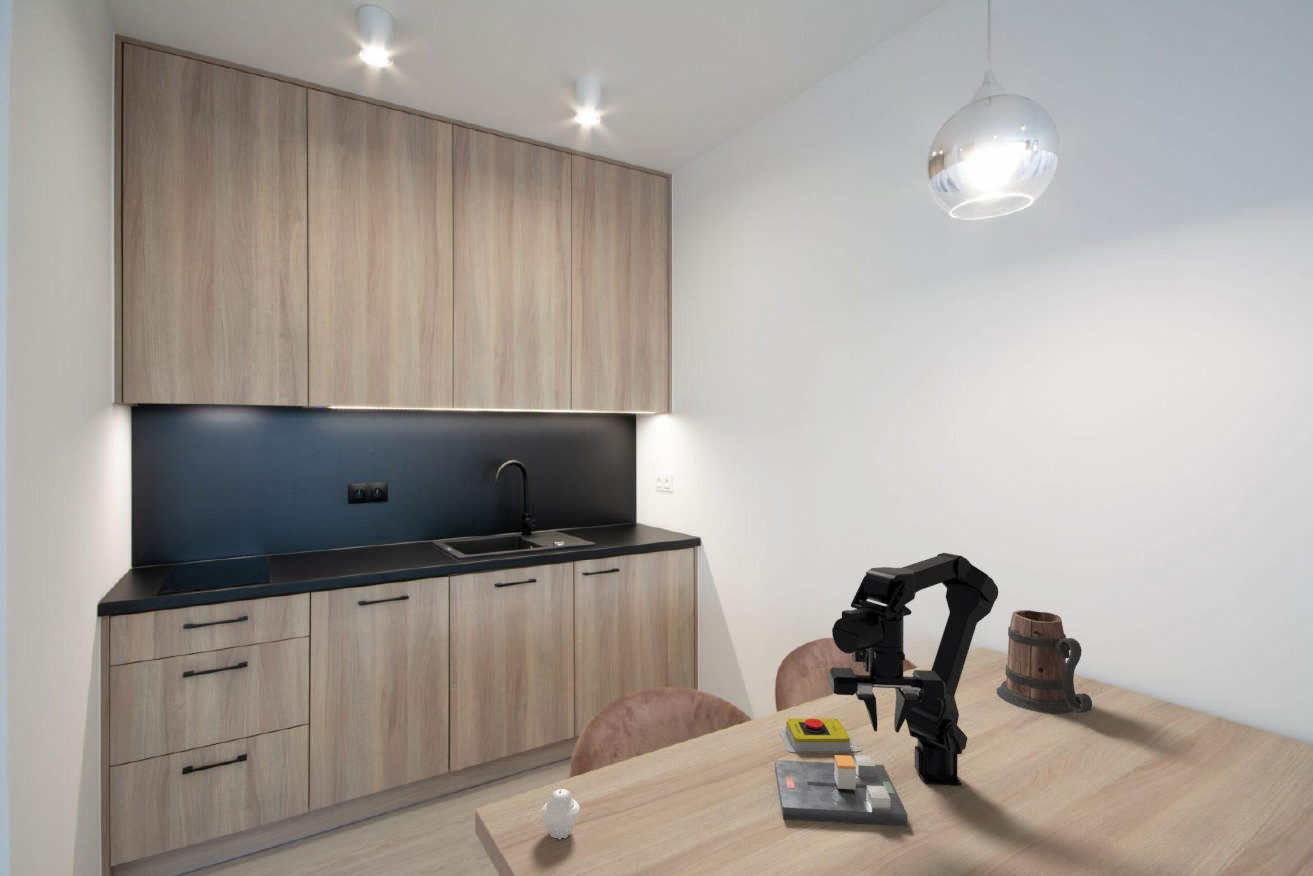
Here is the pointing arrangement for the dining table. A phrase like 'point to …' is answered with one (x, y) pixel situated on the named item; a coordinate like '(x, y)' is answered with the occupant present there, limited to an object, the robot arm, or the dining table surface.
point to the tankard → (1041, 665)
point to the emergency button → (817, 736)
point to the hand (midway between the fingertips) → (885, 731)
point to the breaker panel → (838, 793)
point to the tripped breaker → (844, 772)
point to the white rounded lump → (560, 814)
